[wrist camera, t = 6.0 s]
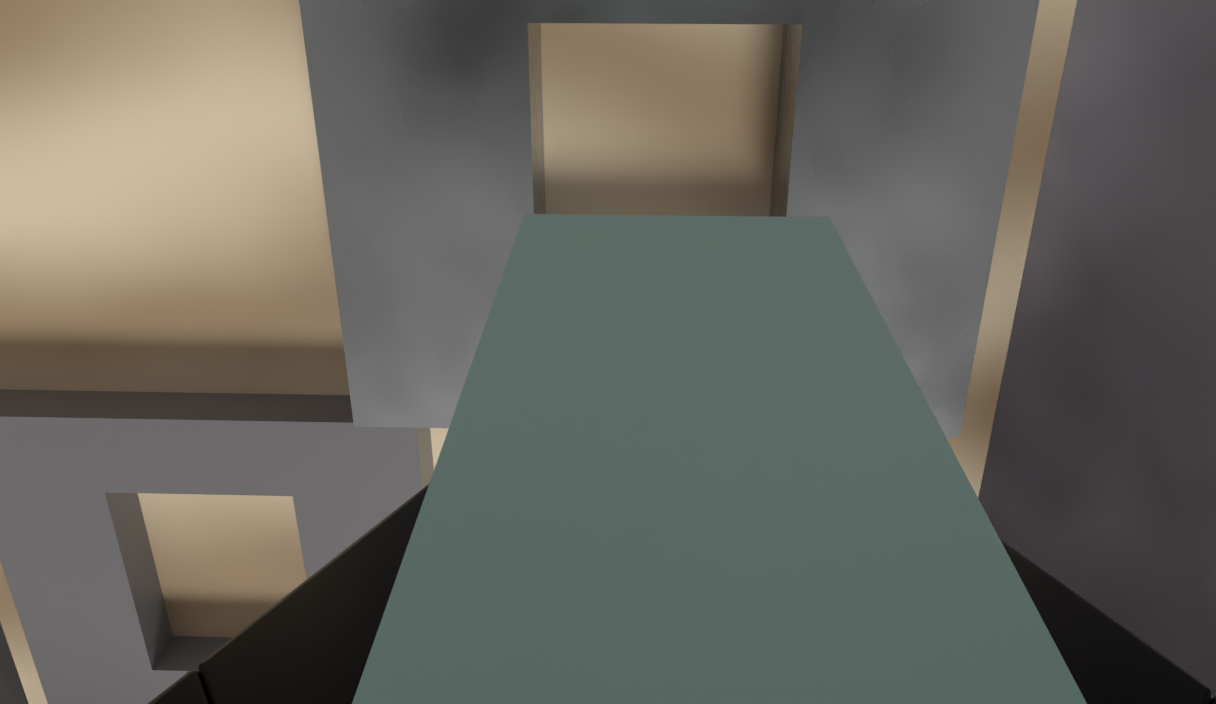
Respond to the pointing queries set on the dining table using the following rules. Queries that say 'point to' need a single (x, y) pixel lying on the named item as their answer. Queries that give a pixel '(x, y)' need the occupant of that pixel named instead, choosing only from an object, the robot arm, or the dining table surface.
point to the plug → (700, 493)
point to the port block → (515, 173)
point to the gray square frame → (166, 464)
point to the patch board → (298, 228)
